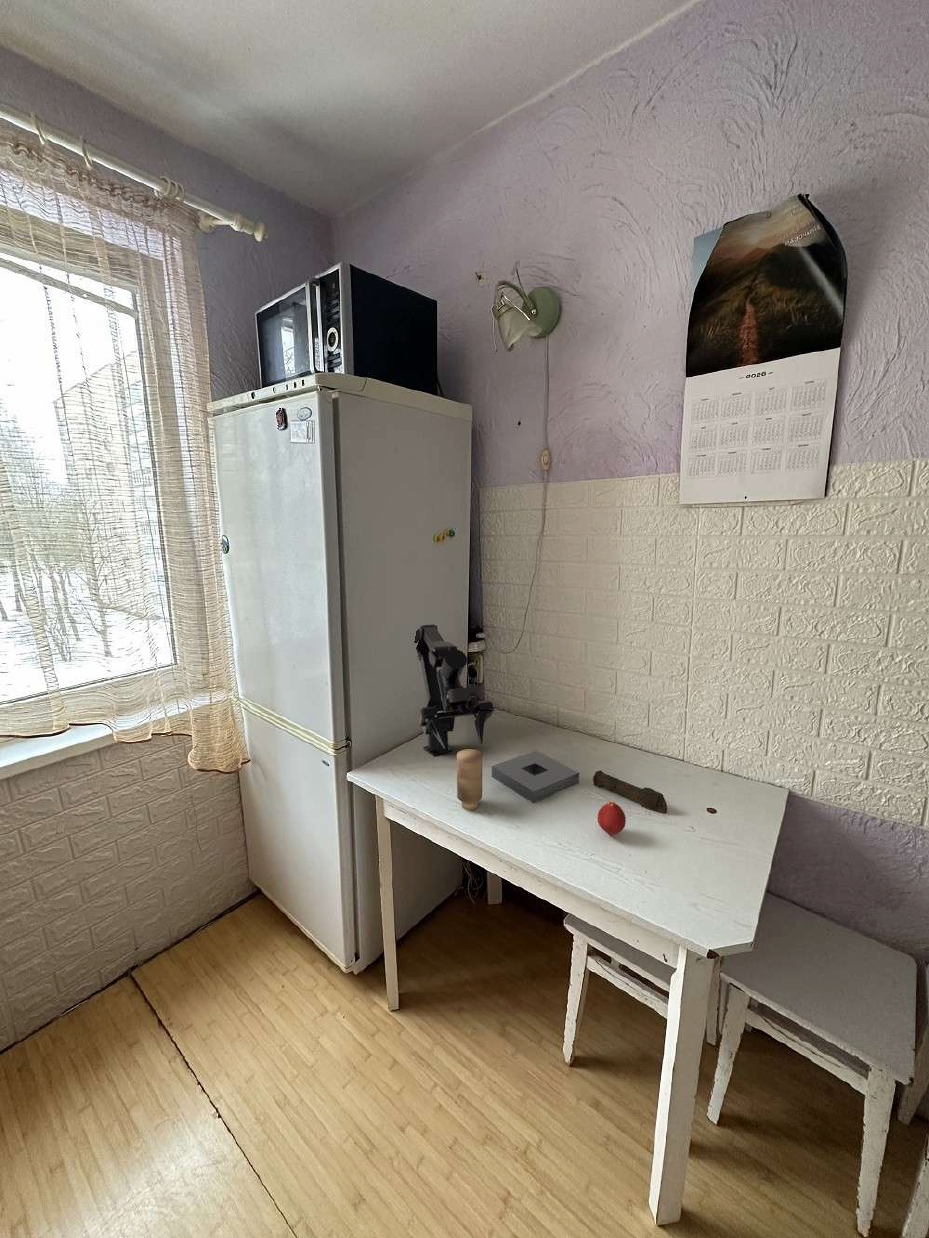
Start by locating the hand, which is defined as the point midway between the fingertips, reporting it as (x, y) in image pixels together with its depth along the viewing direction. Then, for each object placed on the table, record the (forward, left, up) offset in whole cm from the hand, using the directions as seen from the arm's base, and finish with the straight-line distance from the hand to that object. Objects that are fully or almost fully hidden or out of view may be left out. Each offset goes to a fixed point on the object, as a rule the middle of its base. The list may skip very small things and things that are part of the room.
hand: (463, 745), depth 122 cm
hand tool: (+25, +32, -14) cm, 43 cm away
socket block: (+5, +19, -13) cm, 24 cm away
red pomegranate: (+32, +16, -13) cm, 38 cm away
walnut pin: (+5, -2, -13) cm, 14 cm away
